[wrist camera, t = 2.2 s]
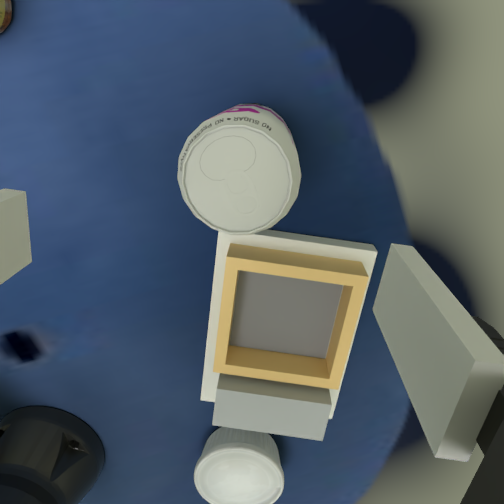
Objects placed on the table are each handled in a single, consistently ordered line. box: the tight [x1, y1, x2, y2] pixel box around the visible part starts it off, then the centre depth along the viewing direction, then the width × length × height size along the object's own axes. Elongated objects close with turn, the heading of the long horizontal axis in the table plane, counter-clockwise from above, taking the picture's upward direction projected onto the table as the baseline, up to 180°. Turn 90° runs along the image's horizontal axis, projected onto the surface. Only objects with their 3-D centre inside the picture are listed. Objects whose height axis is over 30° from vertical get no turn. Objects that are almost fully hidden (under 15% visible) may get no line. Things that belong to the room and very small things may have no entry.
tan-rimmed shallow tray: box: [200, 229, 377, 441], centre depth 44 cm, size 22×16×7 cm
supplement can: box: [177, 103, 301, 235], centre depth 33 cm, size 8×8×15 cm
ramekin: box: [194, 427, 284, 504], centre depth 52 cm, size 11×11×5 cm
